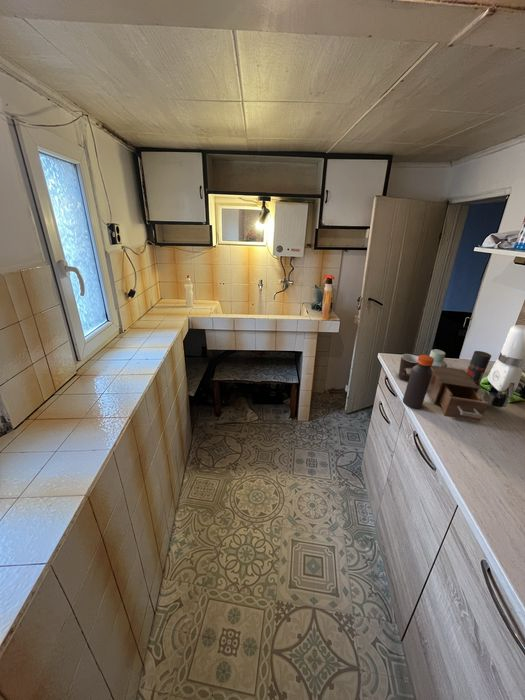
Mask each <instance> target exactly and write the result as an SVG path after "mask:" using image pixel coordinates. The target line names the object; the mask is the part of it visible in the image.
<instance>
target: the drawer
mask: <svg viewBox="0 0 525 700" xmlns="http://www.w3.org/2000/svg"><path fill="white" fill-rule="evenodd" d="M438 401H439V403H440V404H441V405H440V406H441V408H442V410H443V413H442V415H443V416H444V417H448V418H455V419H460V420H465V421H467V420H468V421H473V422H479V423H480V422H481V420H482V418H483V416H484V413H485V412H486V409H487V407H488V406H489V405H488V403H487V402H485V401H484V400H483V398H481V396H480V395H479V393H476V391H475V390H474V389H469V388H462V387H456V386H449V385H443V387H442V390H441V393H440V396H439V398H438Z"/></svg>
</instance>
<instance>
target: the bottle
mask: <svg viewBox="0 0 525 700" xmlns="http://www.w3.org/2000/svg"><path fill="white" fill-rule="evenodd" d="M433 362H434V358H432V357H430V355H427V354H419V355H418V361H417V363H418V364H417V365H415V366H413V368H412V371H411V374H410V377H409V381H408V382H407V384H406V386H405V387H406V388H405V391H404V394H403V398H402V403H403V405H405V406H406V407H408V408H411V409H420V408H422V406H423V404H424V401H425V397H426V394H427V392H428V391H427V389H428V386H429V383H430V380H431V377H432V374H433V371H432V370H431V368H430V367H431V366H432V364H433Z"/></svg>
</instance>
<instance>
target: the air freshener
mask: <svg viewBox="0 0 525 700" xmlns="http://www.w3.org/2000/svg"><path fill="white" fill-rule="evenodd" d="M429 356H430V357H432V358H434V362H433V364H432V366H439V367H446V368H448V364H447V362H446V361H445V357H446V352H445V351H443V350H442V349H441V350H440V349H437V348H435V349H431V350H430V354H429Z"/></svg>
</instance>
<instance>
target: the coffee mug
mask: <svg viewBox="0 0 525 700" xmlns="http://www.w3.org/2000/svg"><path fill="white" fill-rule="evenodd" d="M418 357H419V355H418V356H417V355H415V354H411V353H403V354H401V356H400V363H399V369H398V379H400V380H401V381H404V382H407V383H408V381H409V377H410V374H411V371H412V368H413V366H415V365H417V364H418V363H417V361H418Z"/></svg>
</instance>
